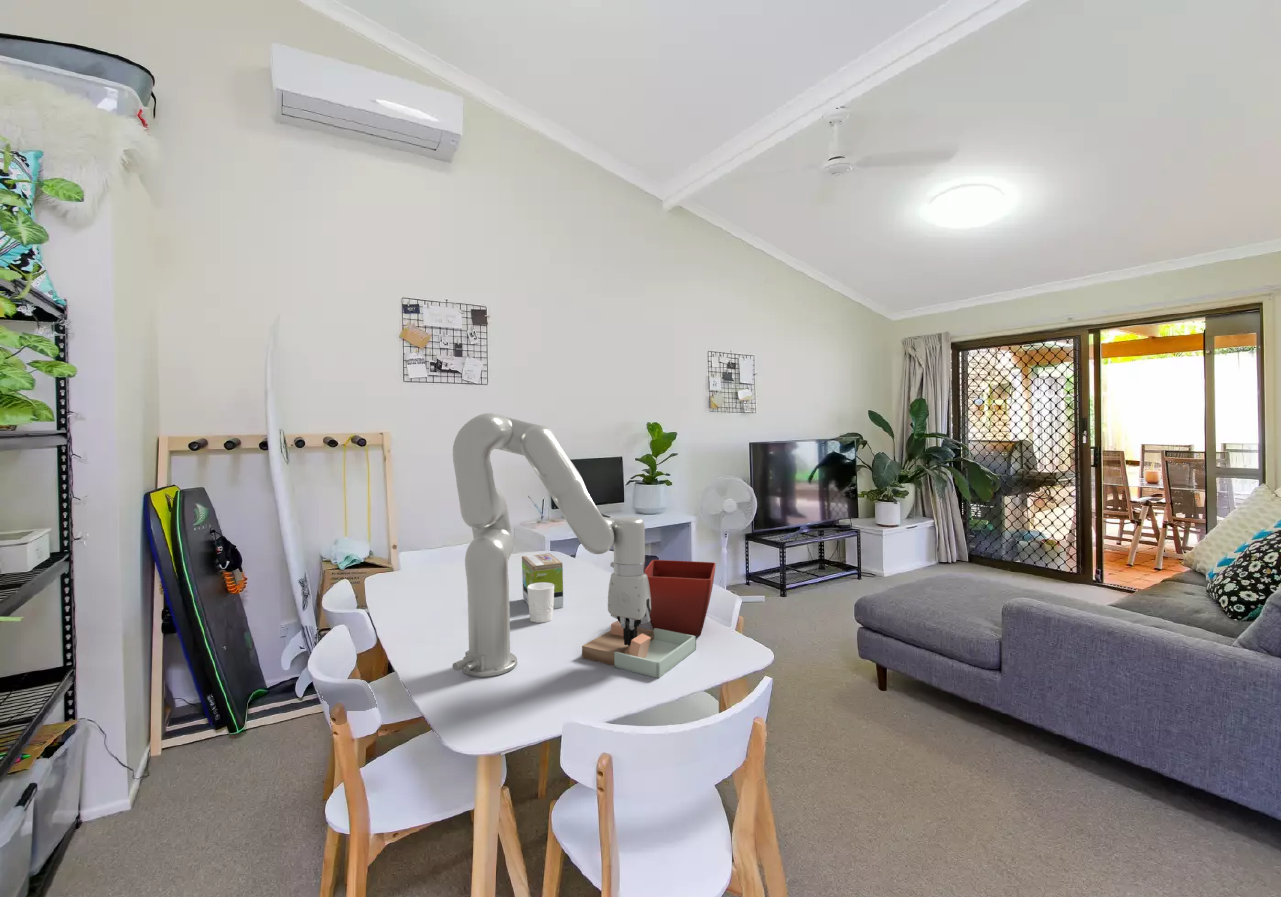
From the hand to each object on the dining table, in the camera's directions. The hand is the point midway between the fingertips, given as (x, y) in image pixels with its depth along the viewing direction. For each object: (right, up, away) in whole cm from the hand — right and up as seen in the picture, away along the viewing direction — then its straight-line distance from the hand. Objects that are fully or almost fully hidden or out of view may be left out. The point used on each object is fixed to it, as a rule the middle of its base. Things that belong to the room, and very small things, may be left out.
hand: (630, 643), depth 139 cm
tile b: (-2, -1, +10) cm, 11 cm away
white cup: (-27, -4, +31) cm, 41 cm away
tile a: (+1, 0, -1) cm, 1 cm away
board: (-3, -4, +7) cm, 8 cm away
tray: (+6, -4, +1) cm, 8 cm away
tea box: (-29, -3, +46) cm, 55 cm away
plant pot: (+14, -3, +22) cm, 26 cm away
